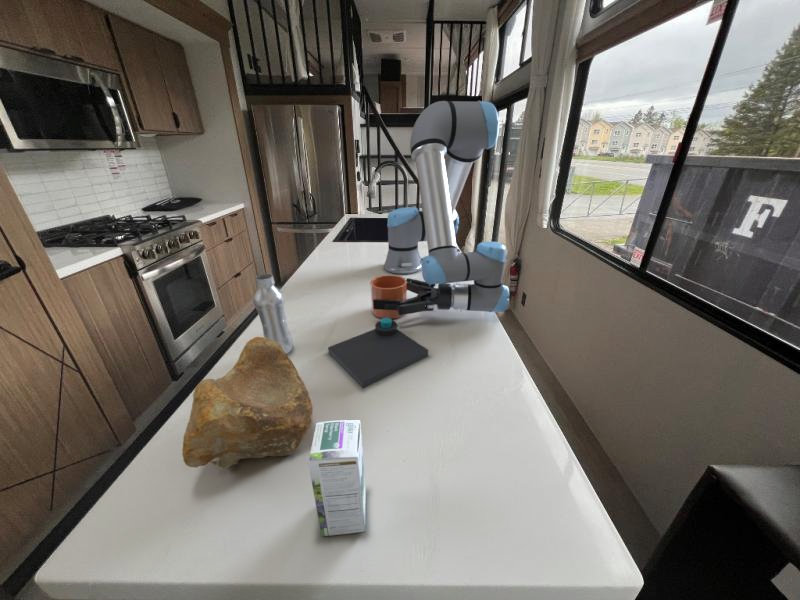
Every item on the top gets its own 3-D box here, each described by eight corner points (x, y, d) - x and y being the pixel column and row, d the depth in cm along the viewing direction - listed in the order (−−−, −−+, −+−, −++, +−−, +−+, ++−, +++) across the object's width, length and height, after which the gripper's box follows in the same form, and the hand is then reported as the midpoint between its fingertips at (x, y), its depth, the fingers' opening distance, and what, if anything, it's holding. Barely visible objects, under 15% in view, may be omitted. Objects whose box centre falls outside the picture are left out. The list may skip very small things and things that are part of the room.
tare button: (387, 322, 85) (387, 316, 85) (393, 326, 83) (393, 320, 83) (378, 325, 84) (378, 319, 83) (384, 330, 82) (384, 324, 81)
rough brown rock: (287, 510, 46) (278, 432, 40) (175, 494, 47) (149, 415, 41) (333, 398, 67) (332, 336, 61) (255, 388, 68) (247, 326, 62)
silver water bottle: (300, 347, 81) (286, 272, 73) (283, 362, 76) (265, 284, 67) (278, 342, 83) (262, 270, 75) (260, 357, 78) (241, 280, 69)
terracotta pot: (393, 301, 104) (392, 272, 99) (414, 313, 96) (414, 282, 92) (365, 311, 98) (363, 280, 94) (385, 324, 91) (384, 292, 86)
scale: (389, 328, 89) (388, 317, 87) (429, 356, 77) (429, 343, 75) (328, 353, 79) (326, 341, 77) (363, 388, 67) (362, 375, 65)
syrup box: (326, 494, 47) (313, 421, 41) (367, 490, 47) (360, 417, 41) (321, 537, 42) (304, 461, 35) (367, 533, 42) (358, 456, 36)
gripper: (451, 330, 83) (370, 326, 86) (450, 291, 105) (386, 288, 108) (452, 304, 80) (368, 301, 82) (451, 269, 102) (385, 267, 104)
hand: (378, 294), depth 95 cm, fingers open, 13 cm apart
